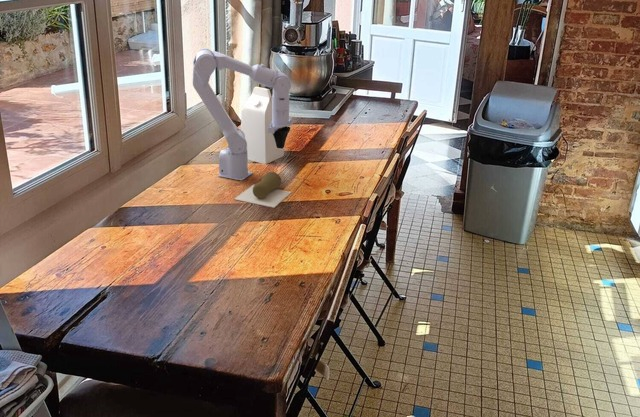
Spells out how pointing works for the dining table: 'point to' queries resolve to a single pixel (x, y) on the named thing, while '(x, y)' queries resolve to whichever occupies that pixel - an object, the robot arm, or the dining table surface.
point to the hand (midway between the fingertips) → (280, 147)
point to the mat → (269, 201)
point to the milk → (259, 127)
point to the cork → (267, 185)
